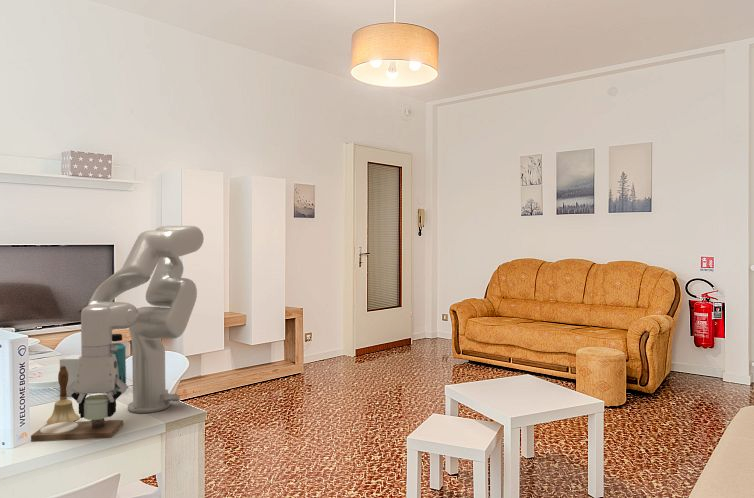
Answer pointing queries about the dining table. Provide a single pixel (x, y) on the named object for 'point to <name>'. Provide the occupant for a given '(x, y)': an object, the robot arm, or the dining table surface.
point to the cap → (96, 407)
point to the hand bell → (63, 402)
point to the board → (76, 430)
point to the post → (98, 423)
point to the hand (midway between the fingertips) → (97, 415)
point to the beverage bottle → (120, 357)
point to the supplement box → (70, 368)
